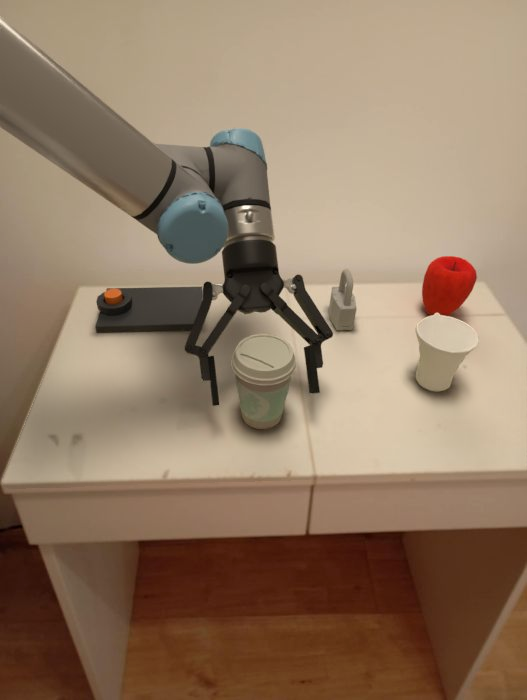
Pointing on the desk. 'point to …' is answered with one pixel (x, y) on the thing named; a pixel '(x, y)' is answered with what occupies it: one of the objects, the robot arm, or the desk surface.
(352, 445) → the desk surface
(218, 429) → the desk surface
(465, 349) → the cup
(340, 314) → the padlock
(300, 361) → the desk surface
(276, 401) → the coffee cup
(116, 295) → the button
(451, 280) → the apple
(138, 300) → the scale
